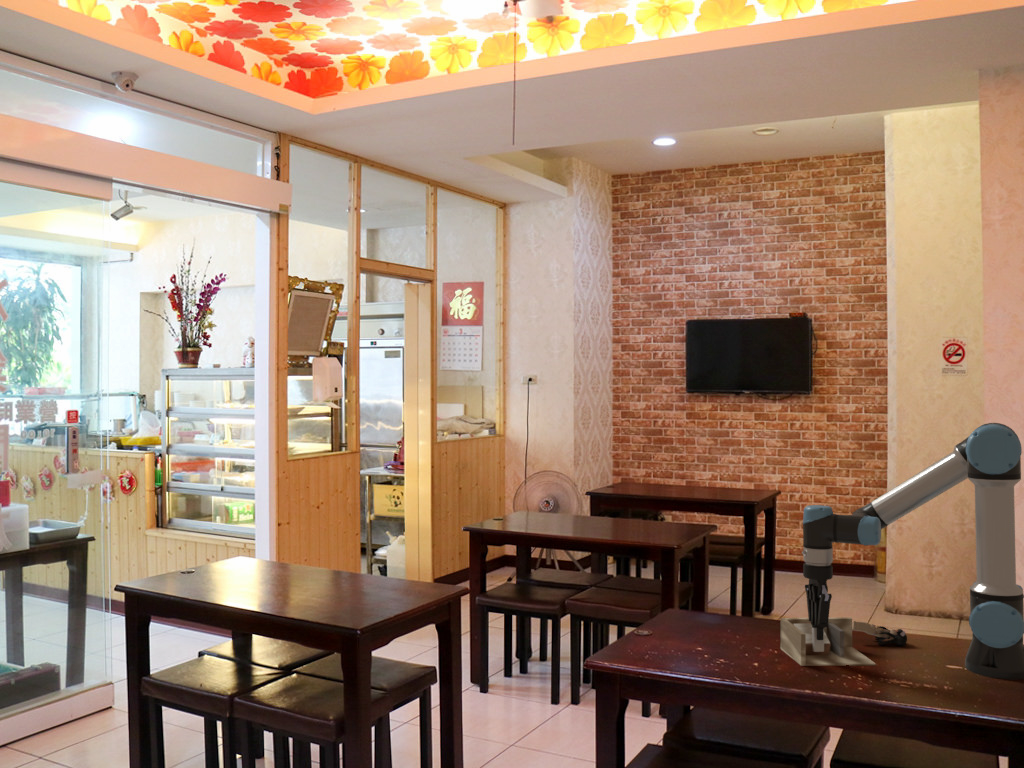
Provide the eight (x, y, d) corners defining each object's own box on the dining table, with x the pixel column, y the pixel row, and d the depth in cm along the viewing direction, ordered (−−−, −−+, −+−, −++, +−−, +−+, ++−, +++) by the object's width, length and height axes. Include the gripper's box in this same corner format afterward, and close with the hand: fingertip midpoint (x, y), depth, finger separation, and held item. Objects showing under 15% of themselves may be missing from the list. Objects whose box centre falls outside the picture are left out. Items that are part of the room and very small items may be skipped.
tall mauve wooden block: (828, 655, 245) (818, 634, 252) (831, 643, 243) (821, 622, 250) (799, 655, 245) (790, 634, 252) (801, 644, 243) (792, 623, 250)
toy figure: (850, 621, 266) (904, 632, 262) (848, 642, 263) (902, 654, 260) (854, 616, 259) (910, 627, 256) (853, 637, 257) (909, 649, 253)
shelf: (850, 649, 254) (850, 617, 254) (875, 667, 238) (875, 633, 238) (780, 650, 253) (780, 618, 253) (801, 668, 237) (801, 634, 237)
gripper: (795, 559, 249) (795, 644, 249) (813, 567, 236) (813, 658, 236) (822, 558, 250) (822, 644, 249) (841, 567, 237) (841, 657, 236)
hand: (818, 651), depth 243 cm, fingers closed
